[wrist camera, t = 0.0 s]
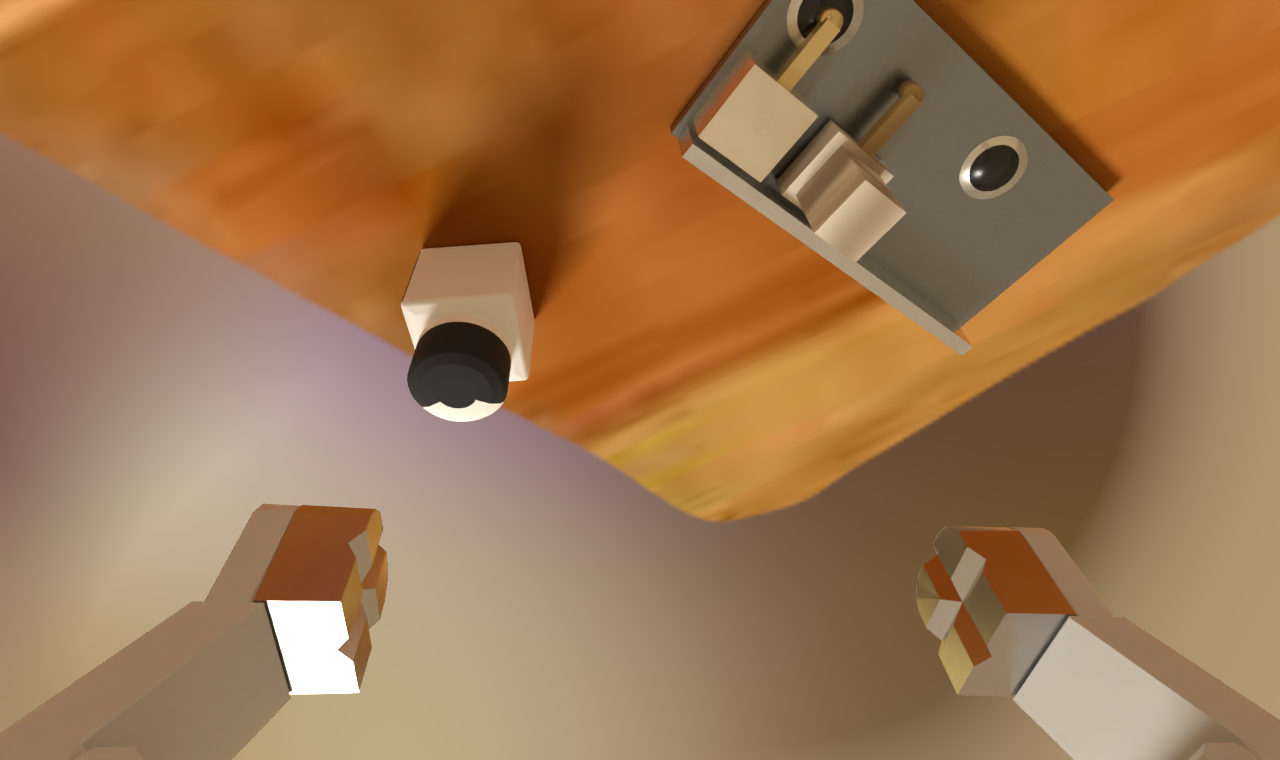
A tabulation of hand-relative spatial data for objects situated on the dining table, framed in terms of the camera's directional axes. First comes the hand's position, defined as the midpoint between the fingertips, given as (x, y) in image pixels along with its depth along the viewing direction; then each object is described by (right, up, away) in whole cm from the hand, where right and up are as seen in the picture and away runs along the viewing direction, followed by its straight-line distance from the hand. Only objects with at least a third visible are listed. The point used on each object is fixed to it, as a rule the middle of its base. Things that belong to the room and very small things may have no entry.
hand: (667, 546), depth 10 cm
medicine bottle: (-12, +9, +42) cm, 45 cm away
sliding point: (+13, +18, +35) cm, 42 cm away
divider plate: (+17, +17, +37) cm, 45 cm away
